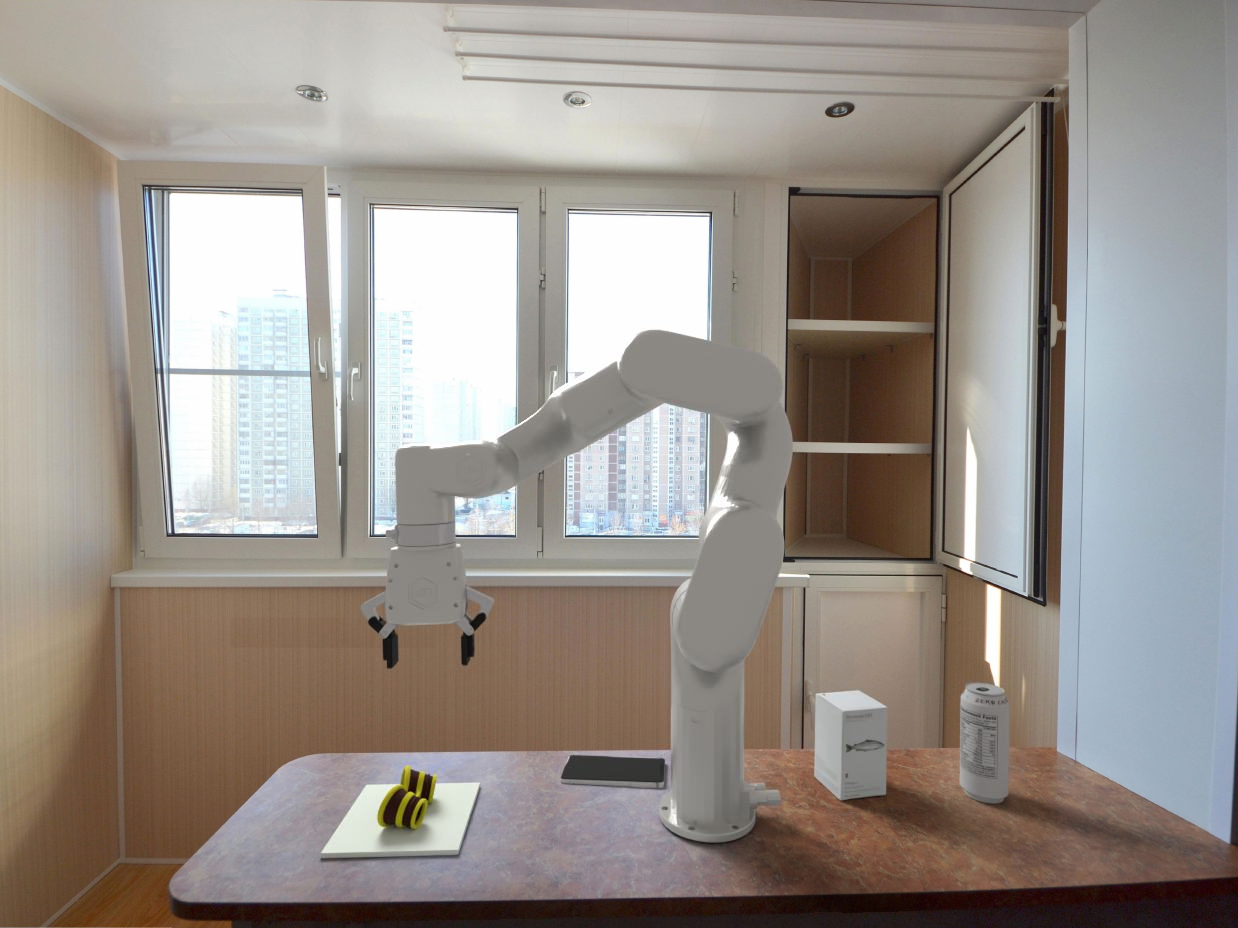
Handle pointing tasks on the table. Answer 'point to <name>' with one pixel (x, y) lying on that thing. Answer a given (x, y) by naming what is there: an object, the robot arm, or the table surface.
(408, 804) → the opera glasses
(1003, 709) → the energy drink can
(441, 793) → the mat
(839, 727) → the supplement box
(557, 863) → the table surface
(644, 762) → the smartphone
